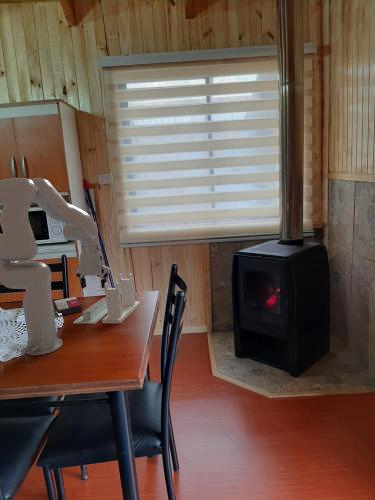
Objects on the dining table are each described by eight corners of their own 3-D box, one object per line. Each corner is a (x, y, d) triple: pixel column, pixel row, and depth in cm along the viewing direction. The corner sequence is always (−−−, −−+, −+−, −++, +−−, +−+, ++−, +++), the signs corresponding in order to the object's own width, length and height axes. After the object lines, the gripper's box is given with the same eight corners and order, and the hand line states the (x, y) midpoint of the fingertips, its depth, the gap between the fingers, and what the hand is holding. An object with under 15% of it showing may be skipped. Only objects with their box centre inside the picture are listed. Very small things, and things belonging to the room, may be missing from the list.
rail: (90, 319, 153) (89, 312, 153) (83, 319, 154) (82, 311, 154) (111, 304, 173) (110, 297, 172) (104, 304, 173) (103, 297, 173)
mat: (94, 324, 150) (94, 322, 150) (73, 323, 152) (72, 322, 152) (119, 303, 175) (119, 302, 175) (101, 303, 177) (100, 302, 177)
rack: (120, 323, 148) (116, 285, 146) (102, 323, 150) (97, 286, 147) (140, 304, 171) (137, 271, 169) (124, 304, 173) (121, 271, 170)
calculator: (57, 309, 162) (53, 299, 175) (58, 318, 163) (54, 308, 176) (82, 304, 167) (76, 295, 180) (83, 313, 168) (77, 303, 181)
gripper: (112, 247, 160) (115, 285, 162) (76, 249, 164) (80, 285, 166) (104, 250, 153) (108, 289, 155) (67, 251, 157) (71, 289, 159)
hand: (93, 287), depth 161 cm, fingers open, 9 cm apart
